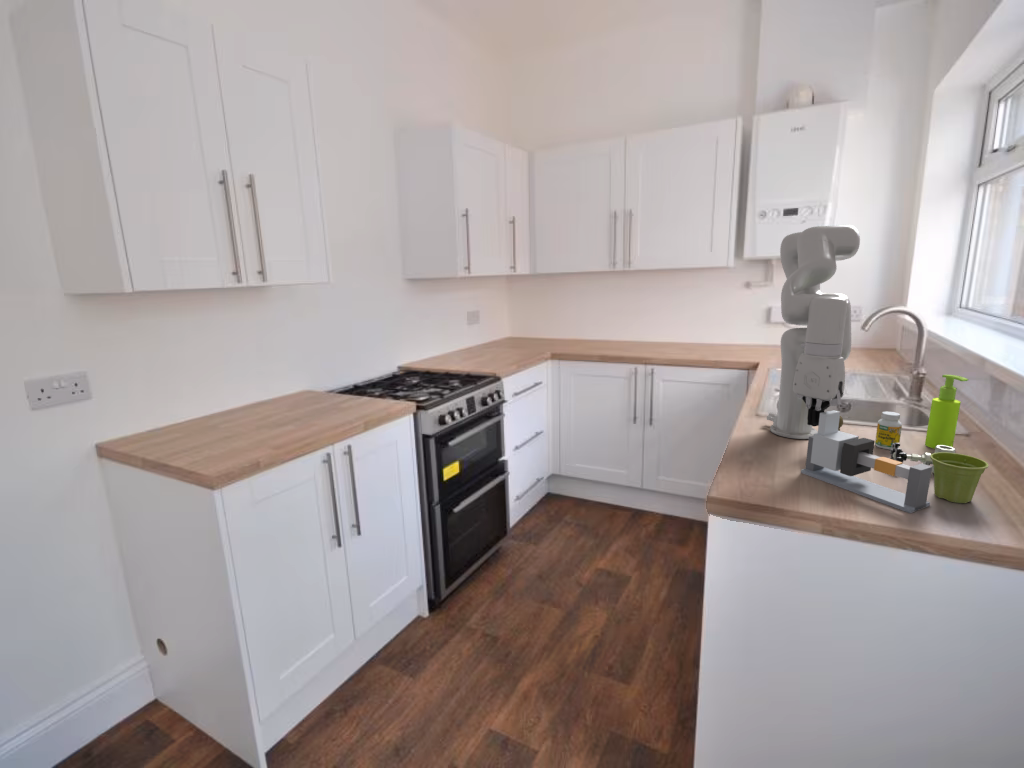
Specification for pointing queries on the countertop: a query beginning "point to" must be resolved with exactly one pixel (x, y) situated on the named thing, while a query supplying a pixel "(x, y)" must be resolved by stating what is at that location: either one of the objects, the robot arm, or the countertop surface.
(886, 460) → the rail stand
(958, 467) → the plant pot
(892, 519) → the countertop surface
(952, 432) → the soap dispenser
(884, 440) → the supplement bottle
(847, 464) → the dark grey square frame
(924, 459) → the valve
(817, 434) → the sleeve
